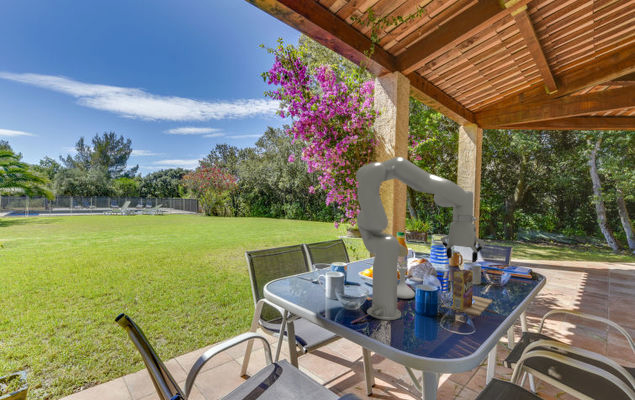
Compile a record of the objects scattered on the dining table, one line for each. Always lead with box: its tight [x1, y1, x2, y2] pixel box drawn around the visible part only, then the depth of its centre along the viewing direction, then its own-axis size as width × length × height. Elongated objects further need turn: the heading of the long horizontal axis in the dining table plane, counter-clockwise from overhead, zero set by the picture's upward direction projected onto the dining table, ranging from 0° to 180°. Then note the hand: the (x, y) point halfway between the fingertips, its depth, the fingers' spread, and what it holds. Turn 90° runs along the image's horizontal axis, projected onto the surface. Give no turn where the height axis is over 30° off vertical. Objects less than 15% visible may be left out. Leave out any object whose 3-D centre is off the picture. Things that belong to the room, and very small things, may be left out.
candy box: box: [452, 269, 474, 310], centre depth 117 cm, size 9×4×15 cm, turn 126°
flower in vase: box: [397, 243, 416, 300], centre depth 132 cm, size 13×11×25 cm
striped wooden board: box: [440, 295, 494, 317], centre depth 122 cm, size 26×14×1 cm, turn 137°
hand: (461, 259), depth 117 cm, fingers open, 9 cm apart
